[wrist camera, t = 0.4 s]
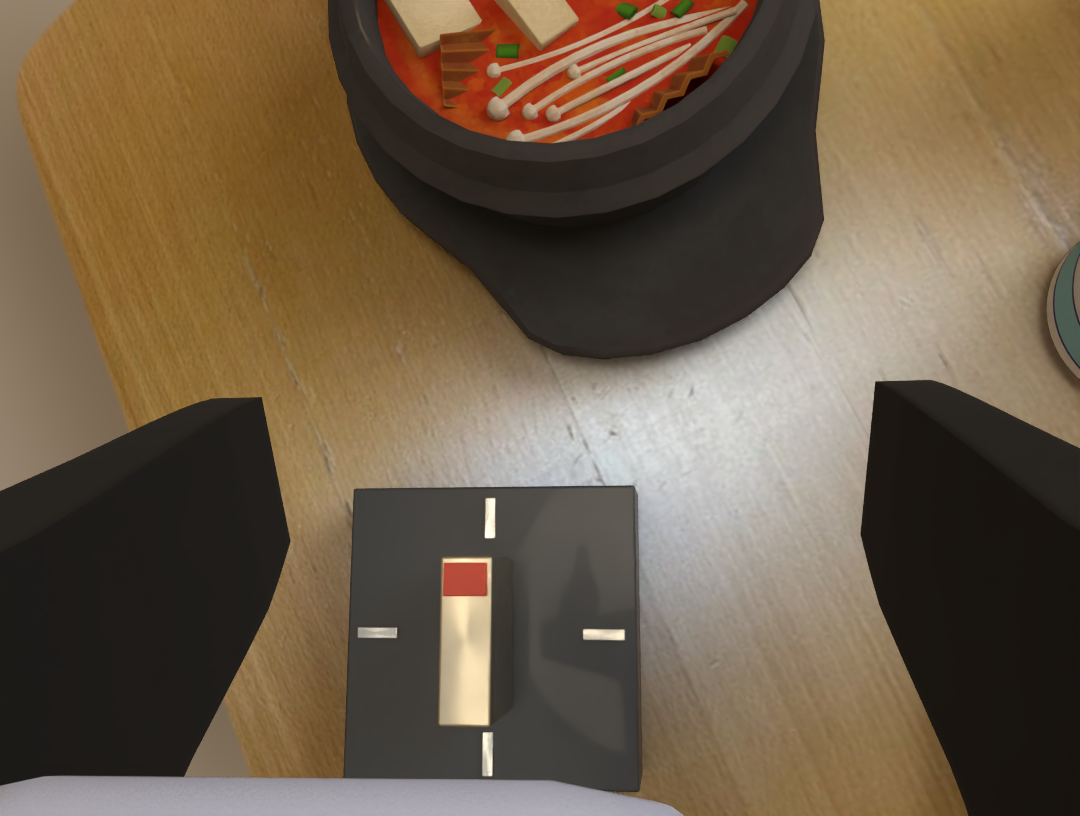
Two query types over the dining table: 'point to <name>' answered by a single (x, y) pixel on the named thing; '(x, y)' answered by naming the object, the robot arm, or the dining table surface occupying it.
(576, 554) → the dial panel
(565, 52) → the casserole
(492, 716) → the dial
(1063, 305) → the beverage can
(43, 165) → the dining table surface
